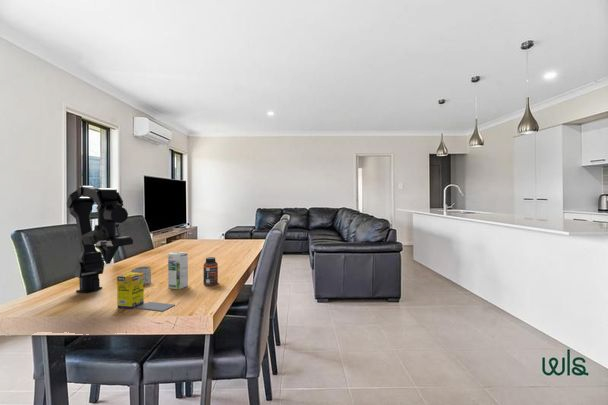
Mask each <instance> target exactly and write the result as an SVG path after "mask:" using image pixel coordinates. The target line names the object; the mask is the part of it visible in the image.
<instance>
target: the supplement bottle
mask: <svg viewBox="0 0 608 405" xmlns="http://www.w3.org/2000/svg"><path fill="white" fill-rule="evenodd" d="M218 264H219V263H218V262H216V257H215V256H214V257H213V256H208V257H206V258H205V262H204V264H203V272H202V273H203V285H205V286H215V285H217V284H218V282H219V277H218V276H219V267H218V266H219V265H218Z"/></svg>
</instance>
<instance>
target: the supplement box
mask: <svg viewBox="0 0 608 405" xmlns="http://www.w3.org/2000/svg"><path fill="white" fill-rule="evenodd" d="M144 290H145V289H144V285H143V273H133V272H128V273H124V274H121V275H117V276H116V292H117V294H116V296H117V298H116V300H117V304H116V307H117V308H119V309H130V310H132V309H134V308H136V307H138V306H140V305H143V304H145V303H144V302H145V301H144V299H145V298H144V296H145V295H144V294H145V293H144Z"/></svg>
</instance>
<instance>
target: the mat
mask: <svg viewBox="0 0 608 405" xmlns="http://www.w3.org/2000/svg"><path fill="white" fill-rule="evenodd" d="M175 306H176V304H172V303H165V302H157V301H156V302H155V301H148V302H146V303H143V304H140V305H138V306H136V307H135V308H136V309H140V310H148V311H155V312H156V311H157V312H162V313H163V312H164V311H167V310H169V309H171V308H173V307H175Z"/></svg>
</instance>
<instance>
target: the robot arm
mask: <svg viewBox="0 0 608 405" xmlns="http://www.w3.org/2000/svg"><path fill="white" fill-rule="evenodd" d="M66 200H67V201H66V207H67V209H68V212H69V214H70V215H71V216H72V217H73V218H74V219H75V222H76V228H77V234H78V239H79V240H78V241H79V246H80V247H79V248H80V252H81V253H80V255H79V256H78V259H77V264H76V267H75V269H74V271H73V273H74V277H76V278H79V289H76V292H77V293H85V294H86V293H87V294H89V293H93V292H96V291H99V290H102V289H103V286H101V284H100V283H101V282H100V275H102V274H103V273H104V270H105V265H108V264H111V262H112V260H113V258H114V256H115V254H116V252H117V251H118V250H119V247H124V246H130V245H133V244H134V239H133V238H132V236H126V235H125V236H120V235H119V234H117V228H118V227H119V226H120V225H119V224H122V223H124V222H125V221H127V219H128V216H129V213H128V211H127V209H126V208H125V207H124V204H123V203H124V201H123V199H122V197H121V195H120V193H119V191H118V189H117V188H115V187H110V188H109V187H108V188H107V187H104V188H103V187H95V186H92V185H80V186H78V187H77V189H76V190H75V191H73V192H71V193H70V194H69V195H68V198H67V199H66ZM95 203H96V206H97V207H96V210H97V224H94V226H93V227H94V229H93V228H92V224H91V219H90V216H91V215H90V214H91V213H92V211H93V207H94V205H95ZM92 229H93V230H92ZM98 250H99V251H98ZM76 292H75V293H76Z"/></svg>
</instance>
